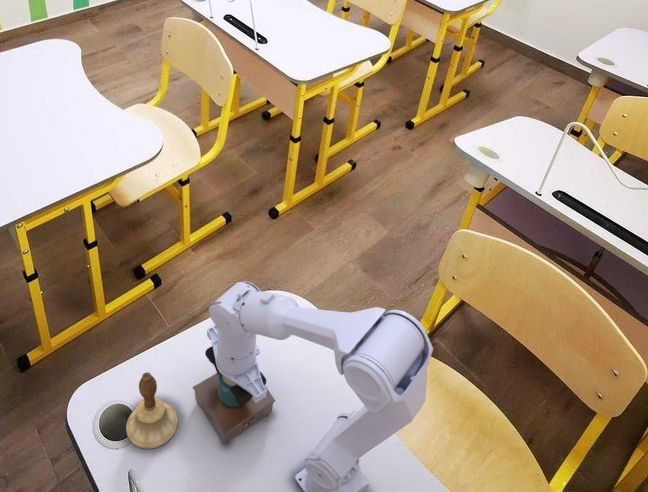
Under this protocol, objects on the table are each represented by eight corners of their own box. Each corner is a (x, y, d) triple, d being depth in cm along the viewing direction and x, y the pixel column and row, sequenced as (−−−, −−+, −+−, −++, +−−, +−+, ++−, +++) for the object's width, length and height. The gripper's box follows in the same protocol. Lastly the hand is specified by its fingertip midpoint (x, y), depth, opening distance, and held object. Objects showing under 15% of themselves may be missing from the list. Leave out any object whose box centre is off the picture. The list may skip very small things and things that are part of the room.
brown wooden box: (274, 415, 102) (276, 401, 99) (224, 448, 97) (224, 434, 93) (242, 371, 107) (243, 357, 104) (193, 400, 102) (192, 386, 98)
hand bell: (172, 395, 102) (167, 345, 91) (183, 439, 97) (179, 391, 86) (122, 410, 99) (110, 360, 88) (130, 456, 93) (119, 409, 83)
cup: (265, 390, 100) (267, 372, 96) (228, 413, 96) (229, 395, 92) (247, 367, 102) (249, 348, 98) (211, 388, 98) (211, 369, 94)
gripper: (286, 365, 87) (279, 408, 96) (234, 299, 94) (232, 345, 103) (245, 390, 83) (242, 432, 92) (194, 319, 90) (196, 365, 99)
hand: (234, 388), depth 98 cm, fingers closed on cup, 5 cm apart
